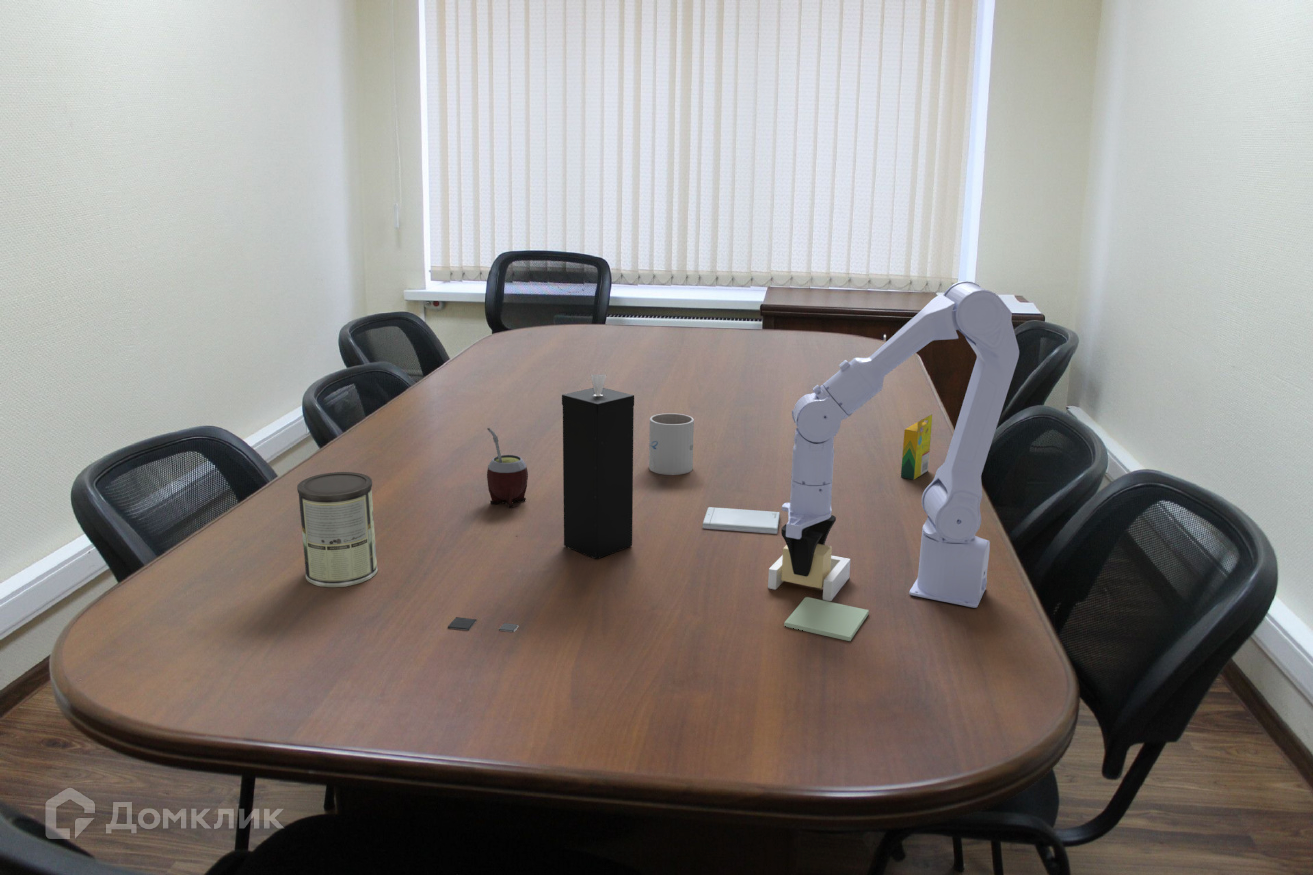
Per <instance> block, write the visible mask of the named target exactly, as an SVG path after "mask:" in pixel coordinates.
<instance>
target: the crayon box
mask: <svg viewBox="0 0 1313 875" xmlns="http://www.w3.org/2000/svg"><path fill="white" fill-rule="evenodd" d="M925 421H927V422H925ZM932 426H933V414H930V415H928V416H926V417H924V418H922V419H921V420H919V421H917V422H915V423H913V424H912V425H909V426H908V427H907V428H905V429H904V430H903V432H904V434H903V443H902V456H901V470H900V477H901V478H903V479H909V480H916V479H917V478H919V477H921V476H922V475H923V474H925V473H927V472H929V463H930V462H929V461H930V452H931V451H930V450H931V439H932V438H931V437H932V436H931V435H932Z"/></svg>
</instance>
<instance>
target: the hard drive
mask: <svg viewBox="0 0 1313 875" xmlns="http://www.w3.org/2000/svg"><path fill="white" fill-rule="evenodd" d="M780 516H781V512H780V511H769V510H768V511H767V510H755V509H754V510H753V509H744V508H743V509H741V508H740V509H739V508H726V507H711V506H709V507H707V509H706V513H705V516H704V519H703V521H702V522H703V523H702V529H708V530H720V531H721V530H722V531H731V532H733V531H734V532H737V531H738V532H748V533H761V534H774V535H777V534H778V532H779V526H780V525H779V524H780V518H781V517H780Z"/></svg>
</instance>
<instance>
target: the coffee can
mask: <svg viewBox="0 0 1313 875" xmlns="http://www.w3.org/2000/svg"><path fill="white" fill-rule="evenodd" d="M296 488H297V490H296V491H297V494H298V502H299V504H298V505H299V513H300V515H299V516H300V523H301V533H302V534H301V536H302V543H303V544H302V546H303V557H304V566H305V579H306V581H307V582H308V583H310V584H311V585H314V586H316V587H321V588H344V587H345V588H346V587H350V586H355V585H358V584H362V583H365V582H367V581H369V580H370V579H372V578H373V577H374V576H376V575H377V573H378V569H379V568H378V566H377V564H378V562H377V550H376V549H377V548H376V547H377V546H376V536H375V522H374V521H375V520H374V507H373V506H374V505H373V492H372V488H373V479H372V478H371V477H370V476H368V474H367V475H366V474H363V473H359V472H353V471H352V472H351V471H337V472H336V471H335V472H326V473H325V472H324V473H322V474H316V475H313V476H310V477H308V478H305V479H303V480H301V481H300V482H299V483H297V486H296Z"/></svg>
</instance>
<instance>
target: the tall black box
mask: <svg viewBox="0 0 1313 875" xmlns="http://www.w3.org/2000/svg"><path fill="white" fill-rule="evenodd" d="M590 377H591V378H590V379H591V383H592V385H593V386H592V387H591V388H587V389H583V390H582V389H581V390H578V391H577V390H576V391H572V392H569V393H564V394H561V405H562V471H563V472H562V475H563V477H562V478H563V480H562V481H563V482H562V483H563V487H562V488H563V489H562V490H563V546H564V547H566V548H568V549H571V550H573V551H576V552H578V553H581V554H582V555H586V556H588V557H591V558H592V559H601V558H604V557H606V556H609V555H612V554H614V553H617V552H619V551H623V550H624V549H627V548H629V547H632V546H633V510H634V509H633V506H634V505H633V503H634V502H633V500H634V495H633V494H634V418H635V417H634V411H635V410H634V407H635V395H634V394H631V393H627V392H623V391H620V390H619V391H618V390H614V389H610V388H606V387H604V386H605V382H606V379H607V374H591V375H590Z"/></svg>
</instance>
